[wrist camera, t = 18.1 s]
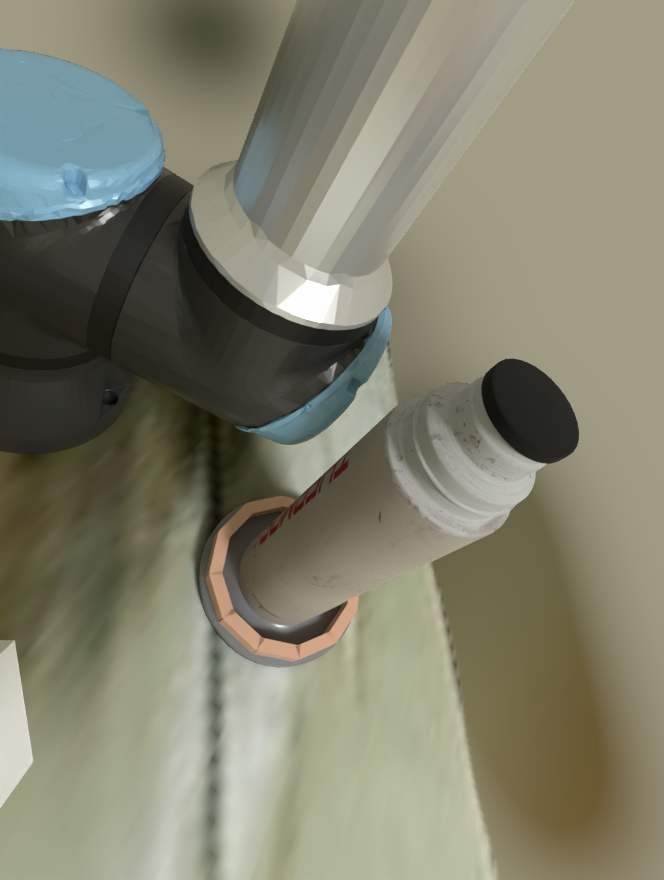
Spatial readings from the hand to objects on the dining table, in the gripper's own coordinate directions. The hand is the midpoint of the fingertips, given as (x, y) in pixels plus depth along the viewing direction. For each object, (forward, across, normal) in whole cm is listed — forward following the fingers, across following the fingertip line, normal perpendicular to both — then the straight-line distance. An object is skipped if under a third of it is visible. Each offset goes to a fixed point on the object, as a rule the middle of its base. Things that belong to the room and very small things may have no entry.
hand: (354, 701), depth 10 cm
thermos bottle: (+31, -5, -13) cm, 34 cm away
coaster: (+31, -5, -13) cm, 35 cm away
